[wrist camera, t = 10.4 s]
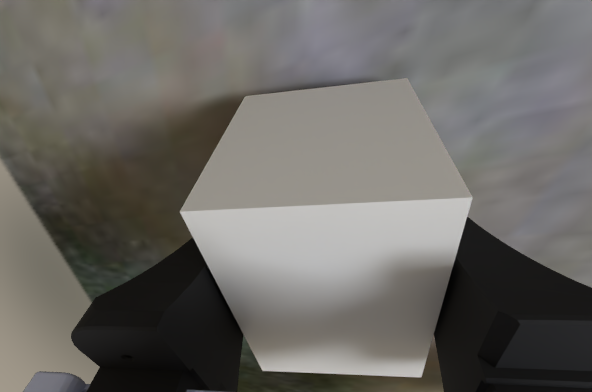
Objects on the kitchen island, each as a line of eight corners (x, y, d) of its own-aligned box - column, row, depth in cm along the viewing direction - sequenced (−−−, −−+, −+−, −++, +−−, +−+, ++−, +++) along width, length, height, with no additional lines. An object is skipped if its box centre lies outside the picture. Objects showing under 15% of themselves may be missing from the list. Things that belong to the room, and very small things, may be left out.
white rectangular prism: (393, 241, 16) (421, 377, 11) (283, 244, 17) (262, 370, 12) (406, 78, 11) (472, 197, 6) (245, 96, 12) (179, 211, 7)
